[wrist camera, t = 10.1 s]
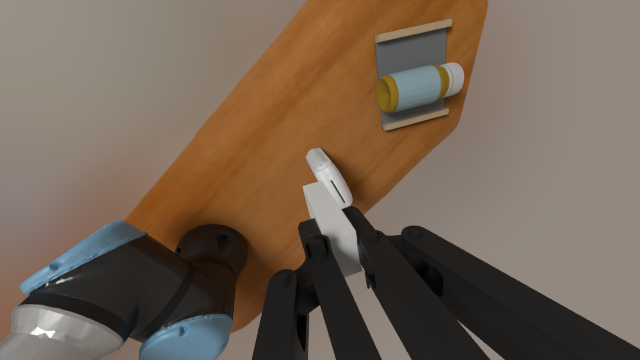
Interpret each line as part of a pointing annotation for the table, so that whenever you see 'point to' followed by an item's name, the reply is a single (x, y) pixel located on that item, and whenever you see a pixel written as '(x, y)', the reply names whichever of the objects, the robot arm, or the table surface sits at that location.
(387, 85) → the bottle
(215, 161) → the table surface
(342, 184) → the photo printer
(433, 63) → the grey tray
